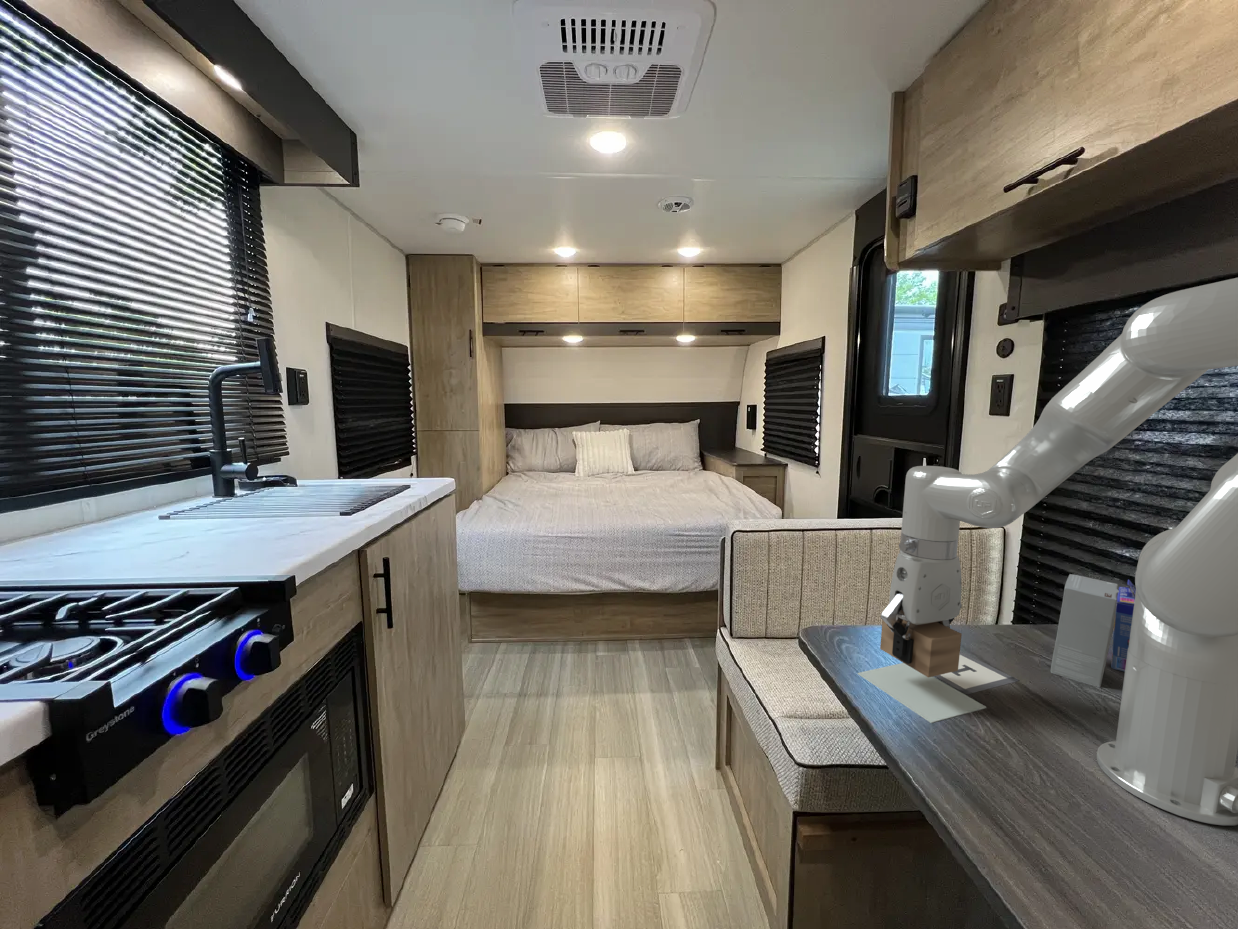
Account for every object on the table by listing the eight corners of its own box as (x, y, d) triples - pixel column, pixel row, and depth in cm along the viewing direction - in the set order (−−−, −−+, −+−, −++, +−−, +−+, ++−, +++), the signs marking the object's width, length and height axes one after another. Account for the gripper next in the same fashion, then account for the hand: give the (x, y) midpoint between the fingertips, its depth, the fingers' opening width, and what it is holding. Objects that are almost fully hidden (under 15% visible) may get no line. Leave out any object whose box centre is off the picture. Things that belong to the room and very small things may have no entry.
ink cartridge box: (1110, 648, 95) (1119, 573, 93) (1153, 658, 91) (1164, 580, 89) (1108, 668, 88) (1118, 587, 86) (1154, 680, 84) (1166, 596, 82)
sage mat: (985, 713, 77) (986, 707, 77) (930, 728, 73) (931, 722, 73) (907, 667, 90) (907, 661, 90) (857, 678, 87) (857, 673, 86)
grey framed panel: (1019, 686, 84) (1019, 680, 84) (966, 700, 80) (966, 694, 80) (937, 645, 98) (937, 639, 98) (888, 655, 94) (888, 650, 94)
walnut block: (957, 670, 78) (961, 633, 77) (928, 677, 76) (931, 639, 75) (908, 643, 86) (910, 609, 86) (880, 649, 85) (882, 614, 84)
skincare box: (1054, 656, 92) (1063, 571, 90) (1109, 671, 87) (1120, 581, 85) (1048, 674, 86) (1058, 584, 84) (1106, 691, 81) (1119, 596, 79)
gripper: (905, 559, 72) (895, 677, 75) (992, 548, 78) (980, 658, 80) (864, 544, 79) (856, 653, 82) (947, 535, 85) (937, 637, 87)
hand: (918, 654), depth 81 cm, fingers closed on walnut block, 6 cm apart
